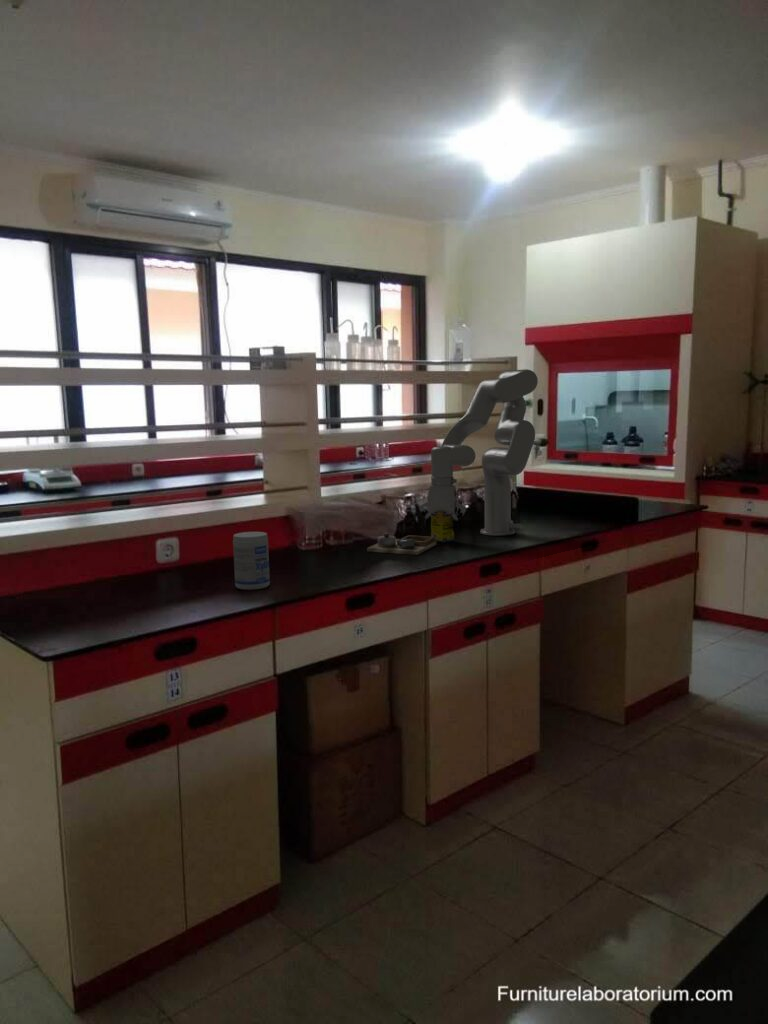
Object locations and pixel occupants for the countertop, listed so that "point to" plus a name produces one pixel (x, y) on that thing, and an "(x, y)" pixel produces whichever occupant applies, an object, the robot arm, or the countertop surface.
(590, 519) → the countertop surface
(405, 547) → the seated puck
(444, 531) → the supplement box
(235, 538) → the supplement tub
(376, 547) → the carrier board
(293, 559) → the countertop surface
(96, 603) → the countertop surface
